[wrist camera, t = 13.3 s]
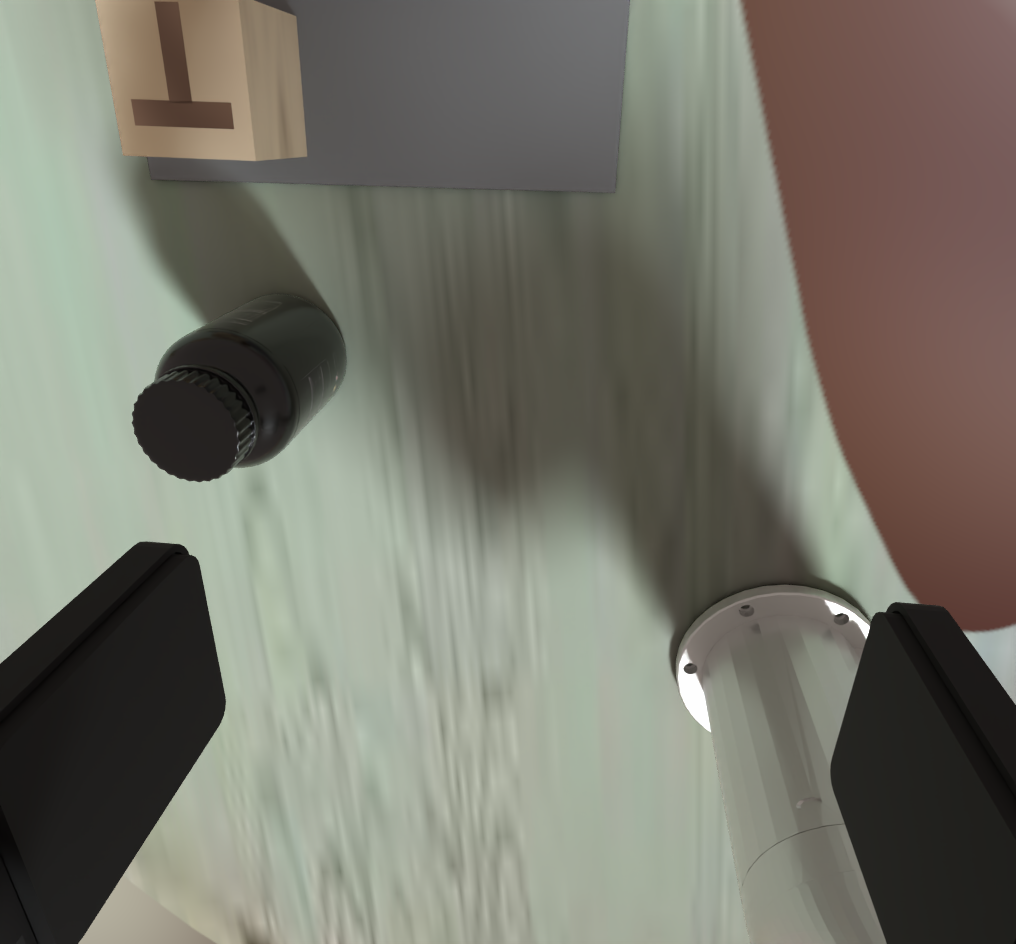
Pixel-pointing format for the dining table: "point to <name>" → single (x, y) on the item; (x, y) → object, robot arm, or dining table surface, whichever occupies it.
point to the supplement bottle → (239, 388)
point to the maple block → (204, 78)
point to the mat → (449, 96)
